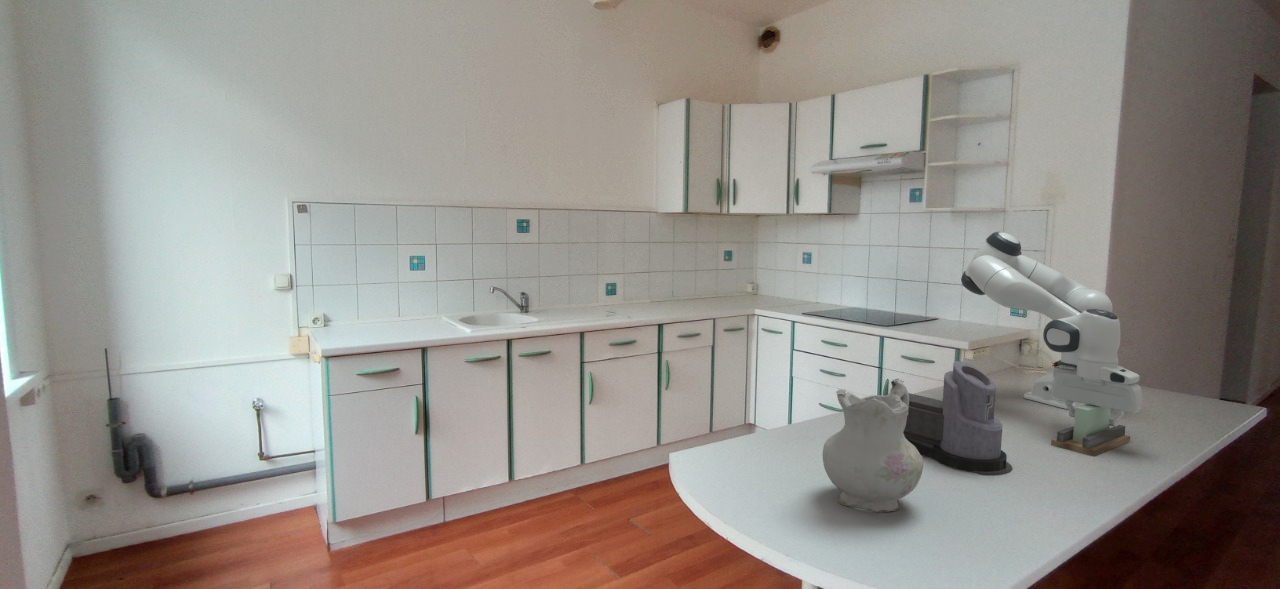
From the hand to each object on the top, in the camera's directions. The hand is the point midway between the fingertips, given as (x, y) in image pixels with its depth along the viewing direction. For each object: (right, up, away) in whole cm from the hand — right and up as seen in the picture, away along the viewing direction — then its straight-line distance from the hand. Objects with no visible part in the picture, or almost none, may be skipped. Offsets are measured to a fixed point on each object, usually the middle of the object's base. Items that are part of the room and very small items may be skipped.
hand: (1092, 421), depth 169 cm
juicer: (-44, -7, -9) cm, 46 cm away
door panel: (0, -5, 0) cm, 5 cm away
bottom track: (0, -6, +1) cm, 6 cm away
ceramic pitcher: (-73, -9, -37) cm, 83 cm away
